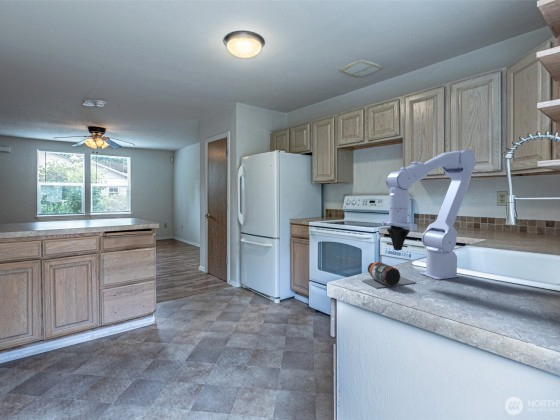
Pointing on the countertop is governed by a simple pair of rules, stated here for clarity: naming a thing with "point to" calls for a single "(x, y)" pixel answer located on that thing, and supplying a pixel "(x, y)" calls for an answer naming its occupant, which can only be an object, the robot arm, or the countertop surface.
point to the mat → (379, 284)
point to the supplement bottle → (384, 273)
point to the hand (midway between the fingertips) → (397, 249)
